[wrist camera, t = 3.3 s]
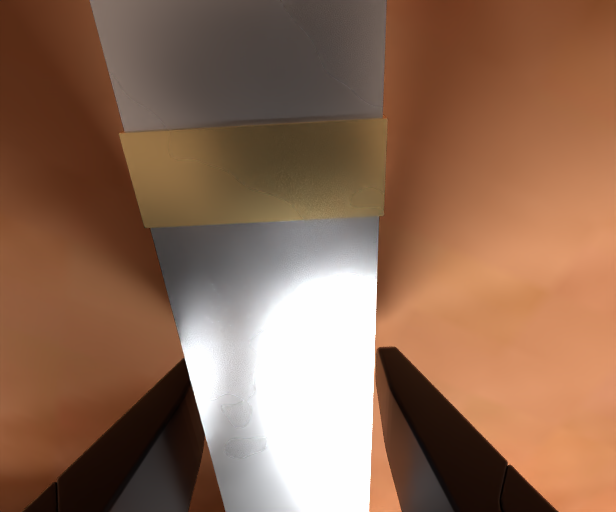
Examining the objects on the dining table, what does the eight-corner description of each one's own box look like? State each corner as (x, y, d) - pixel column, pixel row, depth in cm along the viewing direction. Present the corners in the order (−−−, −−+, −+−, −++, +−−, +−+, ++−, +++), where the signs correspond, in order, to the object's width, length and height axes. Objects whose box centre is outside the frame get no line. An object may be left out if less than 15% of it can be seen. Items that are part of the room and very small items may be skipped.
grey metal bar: (354, 557, 15) (365, 670, 12) (273, 560, 15) (266, 673, 13) (359, -407, 5) (434, -1029, 2) (99, -384, 5) (-181, -955, 2)
